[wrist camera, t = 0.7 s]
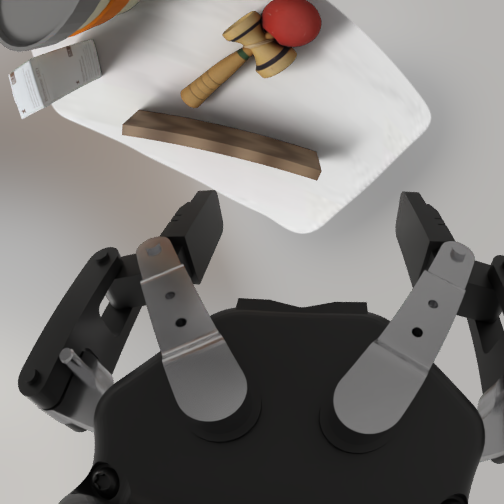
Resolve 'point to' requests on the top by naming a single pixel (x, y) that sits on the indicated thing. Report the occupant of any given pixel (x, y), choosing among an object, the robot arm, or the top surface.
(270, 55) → the kendama
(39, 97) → the skincare box
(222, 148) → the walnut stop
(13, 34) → the reusable coffee cup
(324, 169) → the top surface
